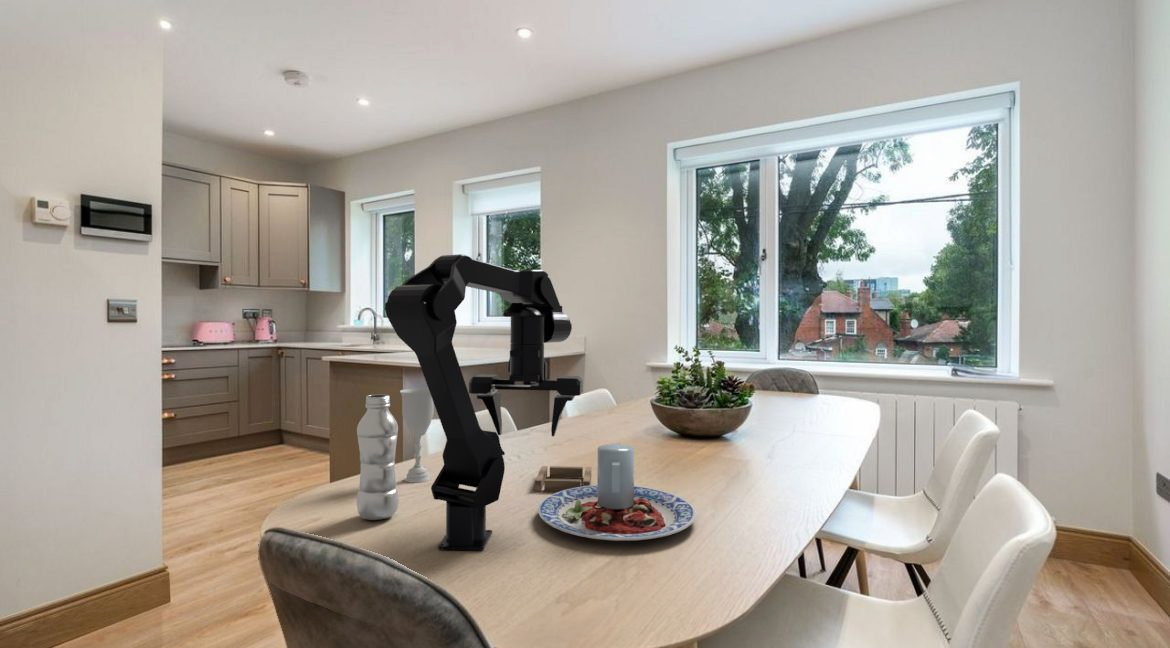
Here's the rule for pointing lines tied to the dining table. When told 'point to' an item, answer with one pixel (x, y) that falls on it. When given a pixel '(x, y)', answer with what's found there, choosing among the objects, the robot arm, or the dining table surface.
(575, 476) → the jug holder
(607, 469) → the jug
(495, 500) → the robot arm
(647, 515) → the ceramic plate
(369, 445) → the plastic bottle
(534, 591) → the dining table surface
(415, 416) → the chalice
